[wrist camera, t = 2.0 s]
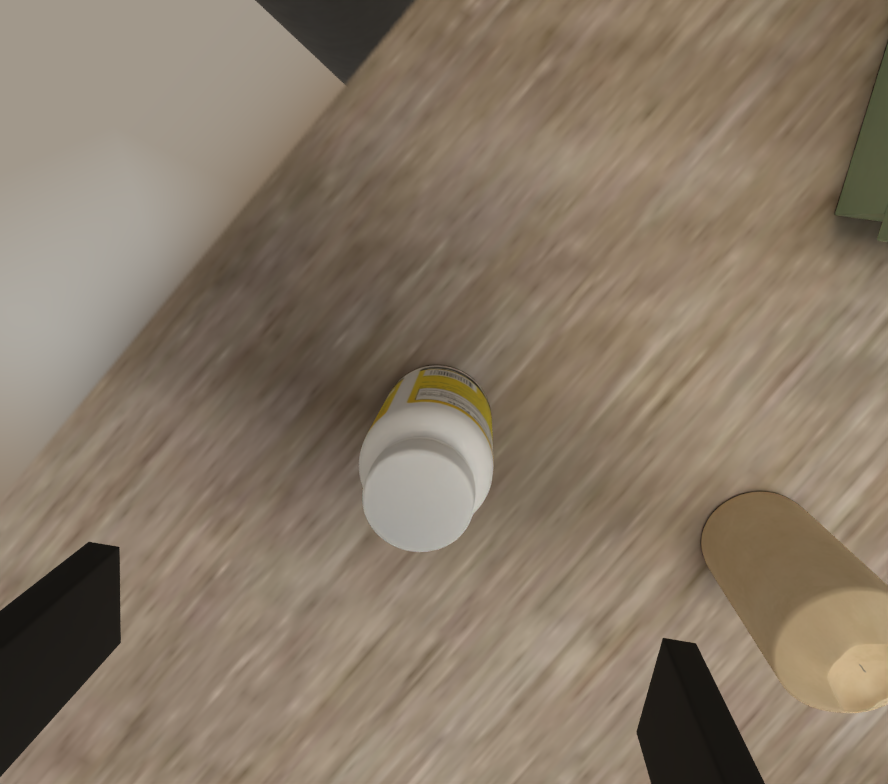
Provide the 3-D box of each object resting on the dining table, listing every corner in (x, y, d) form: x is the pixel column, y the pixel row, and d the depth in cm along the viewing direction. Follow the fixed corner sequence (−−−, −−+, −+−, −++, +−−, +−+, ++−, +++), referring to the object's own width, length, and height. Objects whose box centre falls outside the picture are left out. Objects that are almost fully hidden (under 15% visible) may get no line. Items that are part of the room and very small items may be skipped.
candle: (757, 604, 32) (872, 768, 22) (677, 547, 31) (759, 691, 22) (834, 530, 30) (994, 672, 21) (752, 469, 30) (876, 586, 20)
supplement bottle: (413, 479, 31) (379, 589, 22) (368, 387, 30) (313, 462, 21) (509, 442, 30) (517, 541, 21) (467, 346, 29) (455, 405, 20)
